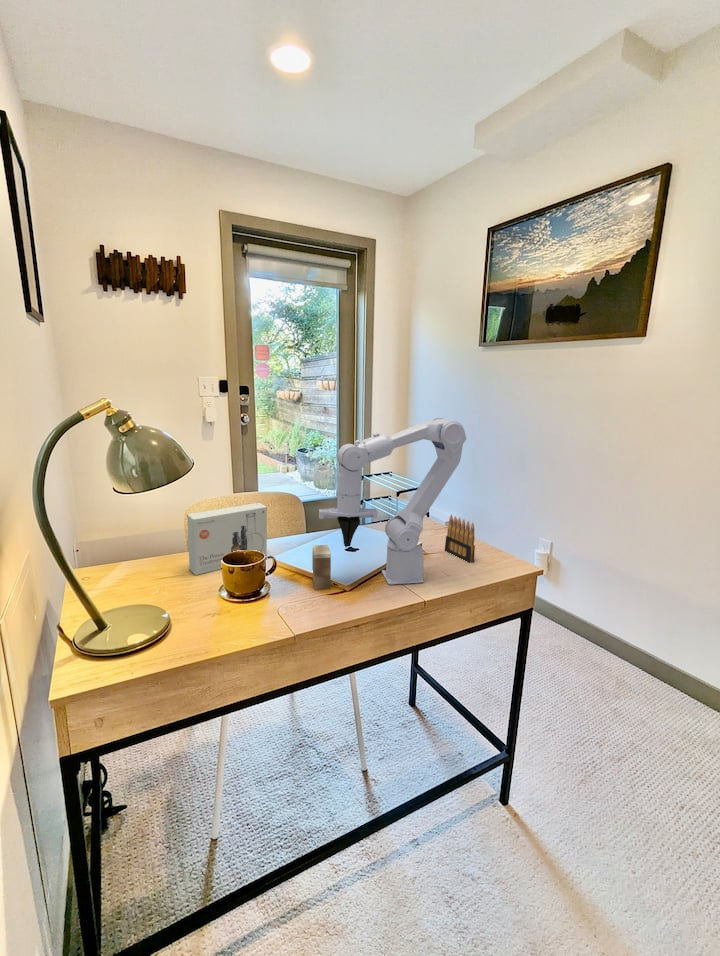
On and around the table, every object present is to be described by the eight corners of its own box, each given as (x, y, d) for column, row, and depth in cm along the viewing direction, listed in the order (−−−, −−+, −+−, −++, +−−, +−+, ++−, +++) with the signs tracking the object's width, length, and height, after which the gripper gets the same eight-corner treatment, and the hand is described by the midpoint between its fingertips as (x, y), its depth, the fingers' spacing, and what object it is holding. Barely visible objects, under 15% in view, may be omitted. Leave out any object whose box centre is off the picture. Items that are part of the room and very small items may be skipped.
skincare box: (195, 577, 116) (192, 519, 112) (188, 569, 120) (185, 513, 116) (268, 558, 129) (267, 505, 125) (259, 552, 133) (258, 501, 129)
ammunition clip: (444, 550, 138) (447, 513, 135) (448, 549, 139) (451, 513, 136) (469, 563, 129) (473, 524, 126) (474, 562, 130) (477, 523, 127)
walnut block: (327, 578, 117) (328, 544, 114) (330, 589, 111) (330, 553, 109) (312, 579, 116) (312, 545, 114) (314, 590, 110) (314, 554, 108)
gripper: (374, 489, 114) (371, 538, 117) (318, 489, 112) (316, 539, 115) (380, 496, 108) (377, 548, 111) (321, 496, 105) (319, 550, 108)
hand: (346, 545), depth 112 cm, fingers closed
